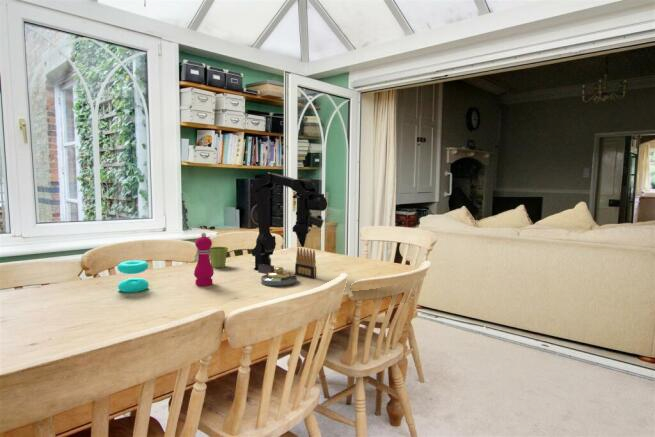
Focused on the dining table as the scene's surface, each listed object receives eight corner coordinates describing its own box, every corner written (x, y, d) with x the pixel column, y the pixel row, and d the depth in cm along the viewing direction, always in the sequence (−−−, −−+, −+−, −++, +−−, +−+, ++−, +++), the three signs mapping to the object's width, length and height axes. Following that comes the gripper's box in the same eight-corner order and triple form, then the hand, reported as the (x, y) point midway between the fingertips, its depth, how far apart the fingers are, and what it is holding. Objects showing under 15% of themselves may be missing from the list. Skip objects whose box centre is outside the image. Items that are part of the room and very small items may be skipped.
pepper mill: (208, 287, 153) (207, 234, 151) (190, 285, 155) (189, 233, 153) (217, 282, 160) (216, 232, 158) (200, 281, 162) (199, 231, 160)
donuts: (139, 258, 154) (153, 262, 148) (139, 284, 155) (154, 289, 149) (112, 262, 146) (126, 266, 140) (112, 289, 147) (126, 295, 141)
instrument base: (257, 286, 156) (257, 278, 156) (265, 277, 170) (265, 270, 170) (293, 287, 155) (294, 279, 155) (298, 278, 169) (299, 271, 169)
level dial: (251, 274, 165) (252, 265, 164) (267, 270, 172) (267, 262, 172) (280, 280, 156) (280, 271, 156) (295, 276, 164) (295, 267, 163)
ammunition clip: (316, 278, 171) (317, 250, 170) (313, 279, 169) (314, 250, 168) (297, 274, 177) (298, 246, 176) (294, 274, 176) (295, 247, 175)
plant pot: (203, 267, 186) (203, 249, 185) (214, 263, 194) (214, 245, 194) (221, 269, 183) (221, 250, 182) (232, 265, 192) (232, 247, 191)
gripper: (320, 211, 160) (320, 251, 161) (324, 208, 178) (323, 243, 180) (292, 211, 160) (292, 250, 162) (299, 207, 179) (298, 243, 180)
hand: (302, 246), depth 171 cm, fingers closed
